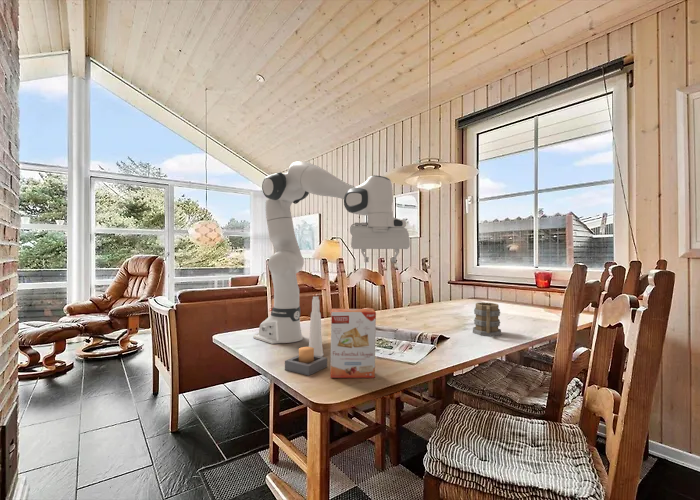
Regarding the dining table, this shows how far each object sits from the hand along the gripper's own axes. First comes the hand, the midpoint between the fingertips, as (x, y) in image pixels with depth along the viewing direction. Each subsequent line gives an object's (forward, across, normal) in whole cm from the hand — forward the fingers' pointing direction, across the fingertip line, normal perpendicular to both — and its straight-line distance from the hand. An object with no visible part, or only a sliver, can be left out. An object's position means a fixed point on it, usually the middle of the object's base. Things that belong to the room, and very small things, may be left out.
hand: (380, 262), depth 123 cm
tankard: (+36, +53, +45) cm, 79 cm away
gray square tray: (+35, -25, -5) cm, 44 cm away
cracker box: (+36, -10, -11) cm, 38 cm away
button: (+33, -25, -5) cm, 42 cm away
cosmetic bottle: (+36, -24, +9) cm, 44 cm away
